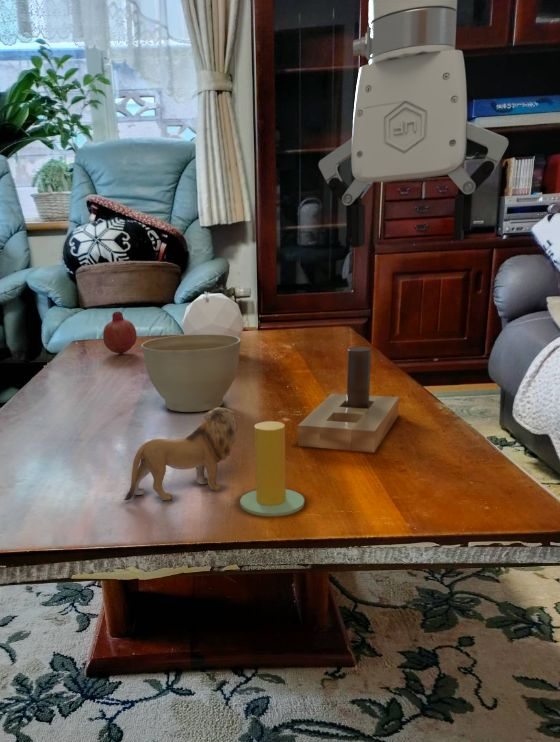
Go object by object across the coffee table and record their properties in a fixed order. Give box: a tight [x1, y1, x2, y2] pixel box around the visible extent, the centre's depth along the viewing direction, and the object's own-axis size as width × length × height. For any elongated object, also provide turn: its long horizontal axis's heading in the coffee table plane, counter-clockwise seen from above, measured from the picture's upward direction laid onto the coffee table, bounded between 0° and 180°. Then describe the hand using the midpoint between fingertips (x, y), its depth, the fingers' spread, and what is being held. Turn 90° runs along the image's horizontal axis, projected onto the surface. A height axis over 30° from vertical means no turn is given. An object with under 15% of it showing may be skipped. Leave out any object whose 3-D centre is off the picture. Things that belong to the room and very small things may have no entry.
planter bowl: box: [140, 334, 242, 413], centre depth 113 cm, size 16×16×11 cm
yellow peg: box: [253, 420, 287, 506], centre depth 73 cm, size 3×3×8 cm
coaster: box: [239, 488, 305, 517], centre depth 74 cm, size 7×7×1 cm
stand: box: [297, 393, 400, 453], centre depth 97 cm, size 10×17×3 cm, turn 155°
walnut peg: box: [346, 346, 372, 409], centre depth 98 cm, size 3×3×11 cm
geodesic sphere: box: [181, 291, 245, 339], centre depth 153 cm, size 15×14×14 cm
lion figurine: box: [123, 406, 238, 501], centre depth 78 cm, size 15×5×9 cm, turn 119°
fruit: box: [102, 310, 137, 355], centre depth 161 cm, size 8×8×10 cm
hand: (407, 243), depth 68 cm, fingers open, 9 cm apart
